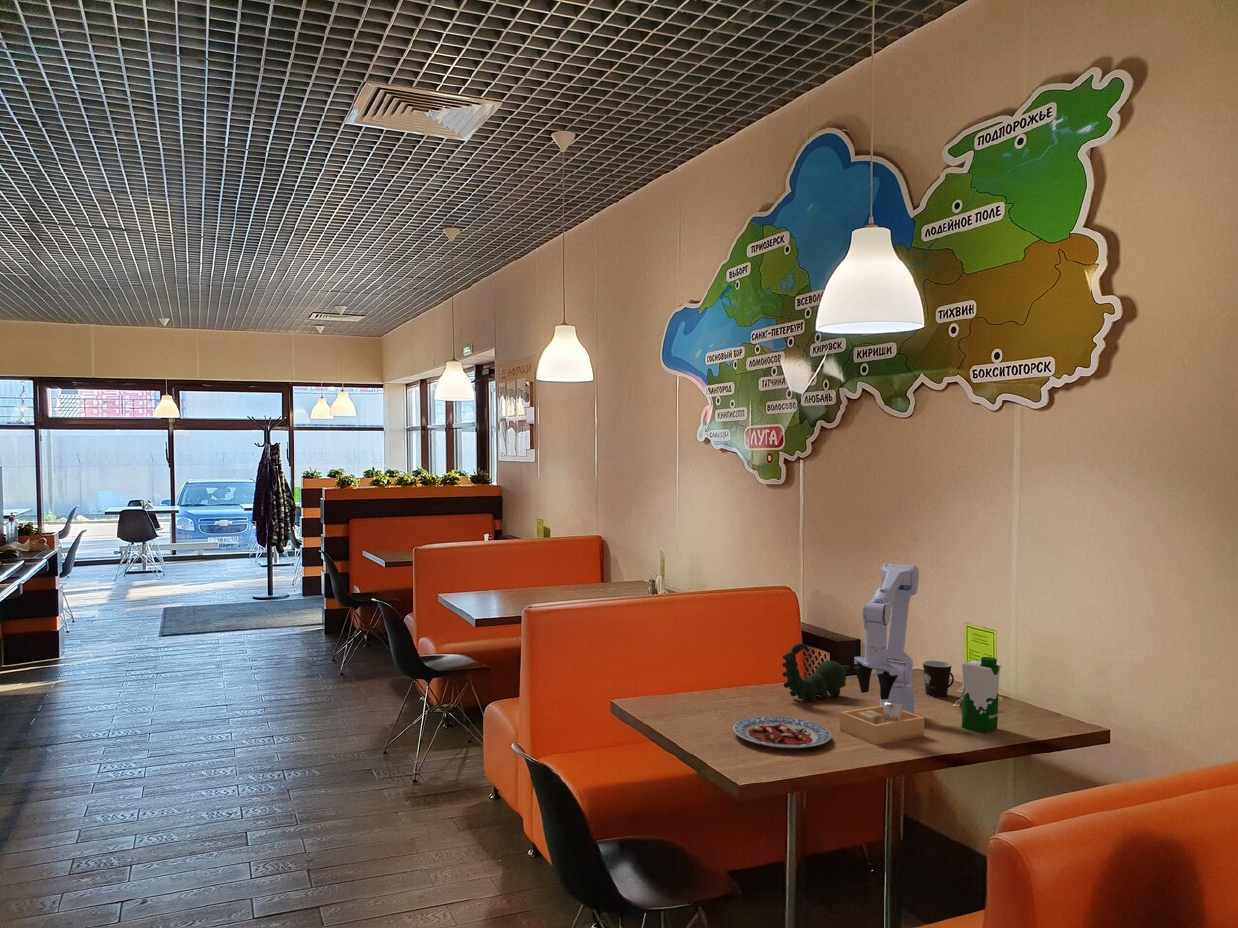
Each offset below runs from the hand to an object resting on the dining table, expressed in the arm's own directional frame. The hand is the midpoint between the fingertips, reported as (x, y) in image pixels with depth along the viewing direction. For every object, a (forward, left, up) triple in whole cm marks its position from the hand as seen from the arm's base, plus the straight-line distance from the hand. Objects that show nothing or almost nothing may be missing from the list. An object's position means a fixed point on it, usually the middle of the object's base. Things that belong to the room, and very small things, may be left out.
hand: (874, 695), depth 249 cm
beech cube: (+3, +2, -9) cm, 10 cm away
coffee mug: (-45, -19, -10) cm, 50 cm away
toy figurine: (-8, -33, -10) cm, 36 cm away
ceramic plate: (+27, -6, -10) cm, 30 cm away
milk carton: (-30, +10, -10) cm, 33 cm away
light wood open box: (-1, +2, -10) cm, 10 cm away
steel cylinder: (-5, +2, -9) cm, 10 cm away
